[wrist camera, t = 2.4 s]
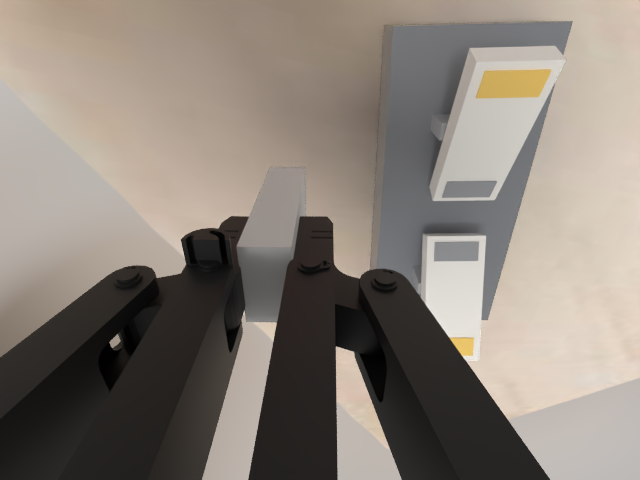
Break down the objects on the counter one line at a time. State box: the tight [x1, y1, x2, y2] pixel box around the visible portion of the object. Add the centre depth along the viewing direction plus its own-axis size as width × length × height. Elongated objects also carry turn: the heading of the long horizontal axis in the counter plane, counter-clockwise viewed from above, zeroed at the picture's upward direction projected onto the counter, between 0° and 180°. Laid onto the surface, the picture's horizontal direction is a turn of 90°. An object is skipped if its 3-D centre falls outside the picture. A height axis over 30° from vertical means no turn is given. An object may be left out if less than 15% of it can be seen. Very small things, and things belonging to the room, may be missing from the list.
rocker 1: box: [421, 233, 486, 360], centre depth 32 cm, size 11×5×2 cm, turn 2°
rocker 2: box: [429, 46, 566, 201], centre depth 25 cm, size 11×5×2 cm, turn 1°
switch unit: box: [370, 21, 573, 320], centre depth 33 cm, size 27×12×8 cm, turn 1°
